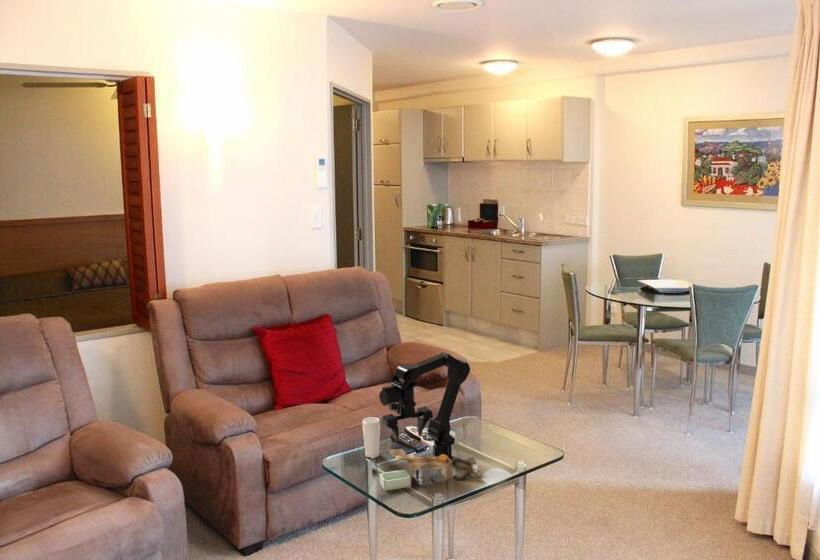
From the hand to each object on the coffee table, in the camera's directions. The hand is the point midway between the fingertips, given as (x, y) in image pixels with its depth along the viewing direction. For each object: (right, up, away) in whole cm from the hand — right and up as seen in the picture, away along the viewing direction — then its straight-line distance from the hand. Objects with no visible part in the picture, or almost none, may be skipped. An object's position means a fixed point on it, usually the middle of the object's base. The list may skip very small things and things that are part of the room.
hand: (408, 438), depth 275 cm
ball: (+13, -6, -7) cm, 16 cm away
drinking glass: (-14, -10, +13) cm, 22 cm away
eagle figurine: (+21, -13, -5) cm, 25 cm away
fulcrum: (+9, -13, -6) cm, 18 cm away
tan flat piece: (+4, -7, -5) cm, 10 cm away
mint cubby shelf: (-5, -14, -11) cm, 19 cm away
